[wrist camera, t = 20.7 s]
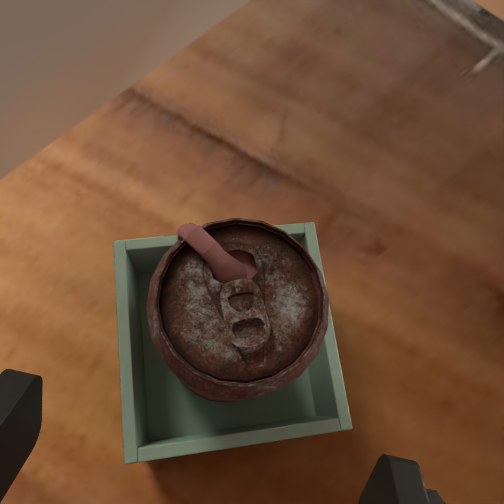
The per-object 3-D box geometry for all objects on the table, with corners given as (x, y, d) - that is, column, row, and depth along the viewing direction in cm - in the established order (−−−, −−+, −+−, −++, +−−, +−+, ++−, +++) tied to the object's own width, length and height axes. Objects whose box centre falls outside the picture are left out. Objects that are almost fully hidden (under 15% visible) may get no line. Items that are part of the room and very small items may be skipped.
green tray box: (140, 452, 27) (124, 464, 21) (129, 271, 30) (112, 240, 24) (323, 424, 28) (353, 429, 22) (294, 253, 31) (314, 221, 26)
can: (218, 275, 29) (229, 168, 16) (295, 345, 28) (374, 292, 15) (147, 348, 28) (94, 295, 14) (227, 425, 27) (249, 444, 13)
